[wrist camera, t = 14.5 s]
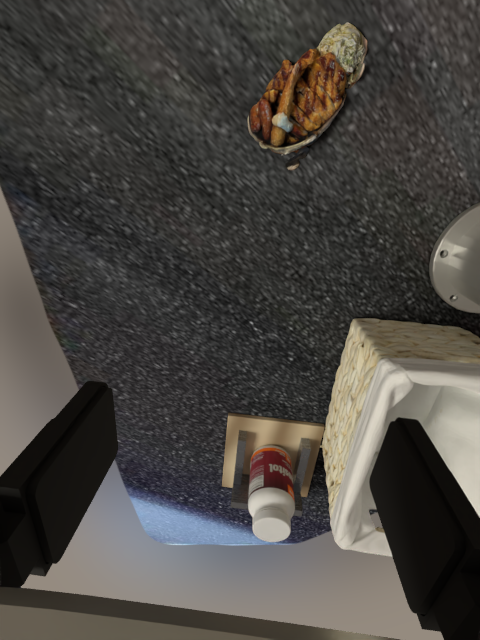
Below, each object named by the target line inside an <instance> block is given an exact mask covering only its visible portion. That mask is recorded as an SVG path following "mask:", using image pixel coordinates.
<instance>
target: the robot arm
mask: <svg viewBox="0 0 480 640" xmlns="http://www.w3.org/2000/svg"><path fill="white" fill-rule="evenodd" d="M441 251H442V253H441V254H440V252H441ZM429 266H430V278H431V283H432V285H433V287H434V289H435V291H436V293H437V294H438V295H439V296H440V297H441V298H442V299H443V300H444V301H445V302H447V303H448V304H449V305H451V306H453V307H455V308H456V309H459V310H462V311H465V312H471V313H480V202H479V203H477V204H475V205H473V206H471V207H470V208H468V209H467V210H465V211H464V212H462V213H461V214H459V215H458V216H457V217H456V218H455V219H454V220H453V221H452V222H451V223H450V224H449V225H448V226H447V227H446V228H445V230H444V231H443V232H442V234H441V235H440V237H439V239H438V240H437V242H436V244H435V246H434V249H433V252H432V254H431V259H430V265H429ZM117 451H118V441H117V431H116V422H115V412H114V402H113V393H112V389H111V388H108V386H107V384H106V383H103V382H94V381H87V382H86V383H85V384H84V385H83V387H82V388H81V389H80V390H79V391H78V392H77V394H76V395H75V396H74V397H73V398H72V399H71V400H70V402H69V403H68V404H67V405H66V406H65V407H64V408H63V409H62V411H61V412H60V413H59V414H58V415H57V416H56V417H55V418H54V419H52V420H51V421H50V422H49V423H47V424H46V426H45V427H44V428H43V429H42V430H41V431H40V432H39V433H38V435H37V436H36V437H35V438H34V439H33V440H32V441H31V443H30V444H29V445H28V446H27V447H26V448H25V449H24V450H23V451H22V453H21V454H20V455H19V456H18V457H17V458H16V459H15V461H14V462H13V463H12V464H11V465H10V466H9V467H8V468H7V470H6V471H5V472H4V473H3V474H2V475H1V476H0V640H399V639H393V638H387V637H380V636H373V635H366V634H359V633H352V632H346V631H339V630H332V629H325V628H318V627H312V626H305V625H297V624H291V623H284V622H277V621H270V620H263V619H256V618H249V617H242V616H234V615H227V614H220V613H213V612H206V611H198V610H192V609H184V608H178V607H170V606H163V605H155V604H148V603H140V602H133V601H126V600H118V599H111V598H103V597H95V596H88V595H79V594H71V593H62V592H53V591H45V590H36V589H27V588H21V586H22V585H23V584H24V583H25V581H26V579H27V577H28V576H29V574H32V575H39V576H46V574H47V572H48V570H49V569H50V567H51V565H52V563H55V564H56V563H57V562H58V561H59V560H60V559H61V557H62V556H63V554H64V552H65V550H66V548H67V546H68V544H69V542H70V540H71V539H72V537H73V535H74V533H75V531H76V530H77V528H78V526H79V524H80V522H81V520H82V518H83V517H84V515H85V513H86V511H87V509H88V507H89V505H90V504H91V502H92V500H93V498H94V496H95V494H96V492H97V490H98V489H99V487H100V485H101V483H102V481H103V479H104V477H105V476H106V474H107V472H108V470H109V468H110V466H111V464H112V463H113V461H114V459H115V457H116V454H117ZM369 485H370V490H371V493H372V496H373V499H374V502H375V505H376V508H377V511H378V514H379V517H380V520H381V523H382V526H383V529H384V532H385V535H386V538H387V541H388V544H389V547H390V550H391V553H392V556H393V559H394V562H395V565H396V569H397V571H398V575H399V578H400V581H401V584H402V587H403V590H404V593H405V596H406V599H407V602H408V604H409V607H410V609H411V610H412V612H413V613H417V616H418V619H419V621H420V624H421V627H422V629H427V630H433V631H440V632H441V633H442V635H443V638H444V640H480V517H479V516H478V514H477V512H476V511H475V509H474V508H473V506H472V504H471V503H470V501H469V500H468V498H467V496H466V495H465V493H464V492H463V490H462V488H461V487H460V485H459V484H458V482H457V480H456V479H455V477H454V476H453V474H452V472H451V471H450V470H449V468H448V467H447V465H446V464H445V462H444V460H443V459H442V457H441V456H440V454H439V452H438V451H437V449H436V448H435V446H434V444H433V443H432V441H431V440H430V438H429V436H428V435H427V433H426V432H425V430H424V428H423V427H422V425H421V423H420V422H419V421H418V420H416V419H409V418H401V417H398V418H397V419H396V420H395V421H391V422H390V424H389V427H388V429H387V432H386V435H385V437H384V440H383V443H382V446H381V448H380V451H379V454H378V456H377V459H376V462H375V465H374V467H373V470H372V473H371V476H370V480H369Z"/></svg>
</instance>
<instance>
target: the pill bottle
mask: <svg viewBox="0 0 480 640" xmlns="http://www.w3.org/2000/svg"><path fill="white" fill-rule="evenodd" d="M248 509H249V512H250V514H251V516H252V517H253V532H254V534H255V535H256V536H257V537H258V538H259V539H261V540H264V541H268V542H277V541H281V540H284V539H286V538H287V537H288V536H289V534H290V531H291V527H290V519H291V518H292V516H293V514H294V511H295V501H294V489H293V477H292V464H291V458H290V455H289V454H288V453H287V452H286V451H285V450H284V449H283V448H281V447H278V446H273V445H266V446H262V447H260V448H258V449H257V450H256V451H255V452H254V453H253V454H252V457H251V465H250V481H249V497H248Z"/></svg>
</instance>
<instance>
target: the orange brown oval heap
mask: <svg viewBox="0 0 480 640" xmlns="http://www.w3.org/2000/svg"><path fill="white" fill-rule="evenodd" d="M340 28H341V29H340ZM366 53H367V40H366V39H365V37H364V36H363V35H362V34H361V32H360V31H359V30H358V29H357V28H356V27H355V26H353V25H352V24H350V23H348V22H347V23H346V24H345V25H341V24H338V25H336V26H335V27H334V28H333V29H331V30H330V31H329V32H328V33H327V34H326V35H325V36H324V37H323V39H322V41H321V42H320V44H319V46H318V47H317V49H310V50H309V51H307V52H306V53H305V54H303V55H302V56H301V58H300V59H299V60H298V61H297V62H296V63H295V64H294V65H293V66H292V65H291V62H289V60H284V61H283V63H282V67H281V69H280V70H279V71H278V73H277V74H276V75H275V76H274V77H273V79H272V80H271V81H270V83H269V84H268V86H267V88H266V93H265V94H264V95H263V96H262V98H261V99H260V101H259V102H258V103H257V105H254V106H253V107H252V109H251V110H250V112H249V115H248V127H249V132H250V135H251V136H252V137H253V138H255V140H256V141H257V142H258V143H260V146H261V147H262V148H265V149H267V148H270V149H271V150H272V151H273V152H275V153H280V154H282V156H283V154H285V155H287V154H289V153H290V152H295V151H296V156H294V157H293V158H291V159H290V160H289V161H288V162H286V168H287V169H288V170H294V169H296V168H297V167H298V166H299V159H303V158H305V157H306V156H307V154H308V152H309V148H307V146H309V145H312V144H313V143H314V142H315V141H316V140H317V139H318V138H319V136H321V134H322V133H323V132H324V131H325V130H326V129H327V128H328V127H329V126H330V124H331V122H332V120H333V119H334V118H335V117H336V115H337V114H338V112H339V110H340V109H341V108H342V106H343V104H344V101H345V98H346V92H345V88H348V89H349V88H351V87H353V85H354V84H355V83H356V82H357V81H358V80H359V79H360V77H361V76H362V74H363V73H364V70H365V64H364V63H363V60H364V58H365V56H366ZM353 71H354V72H353Z"/></svg>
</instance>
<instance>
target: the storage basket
mask: <svg viewBox="0 0 480 640" xmlns="http://www.w3.org/2000/svg"><path fill="white" fill-rule="evenodd" d="M335 379H336V381H335V383H334V386H333V389H332V400H331V402H330V405H329V414H328V416H327V419H326V427H325V431H324V434H323V442H322V445H320V448H323V457H324V468H325V471H326V484H327V487H328V492H329V504H330V506H329V512H330V518H331V521H330V525H331V528H332V533H333V535H334V540H335V542H336V543H337V544H338V545H339V546H340V548H342V549H350V550H355V551H359V552H365V553H371V554H378V555H385V556H392V553H391V550H390V547H389V544H388V541H387V538H386V535H385V532H384V529H383V528H379V527H377V528H375V527H374V524H373V521H372V519H371V516H370V514H369V509H377V508H376V505H375V502H374V499H373V496H372V493H371V490H370V485H369V480H370V476H371V473H372V470H373V467H374V465H375V462H376V459H377V456H378V454H379V451H380V448H381V446H382V443H383V440H384V437H385V435H386V432H387V429H388V427H389V424H390V422H391V421H395V420H396V419H397V418H398V417H401V418H409V419H416V420H418V421H419V422H420V423H421V425H422V427H423V428H424V430H425V432H426V433H427V435H428V436H429V438H430V440H431V441H432V443H433V444H434V446H435V448H436V449H437V451H438V452H439V454H440V456H441V457H442V459H443V460H444V462H445V464H446V465H447V467H448V468H449V470H450V471H451V472H452V474H453V476H454V477H455V479H456V480H457V482H458V484H459V485H460V487H461V488H462V490H463V492H464V493H465V495H466V496H467V498H468V500H469V501H470V503H471V504H472V506H473V508H474V509H475V511H476V512H477V514H478V516H479V517H480V338H479V337H478V336H476V335H474V334H473V333H471V332H470V331H468V330H464V329H462V328H460V327H454V326H441V325H434V324H421V323H416V322H401V321H394V320H380V319H376V318H357V319H353V321H352V323H351V326H350V330H349V334H348V336H347V339H346V342H345V348H344V350H343V353H342V356H341V365H340V366H339V368H338V370H337V373H336V378H335ZM392 557H393V556H392Z"/></svg>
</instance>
